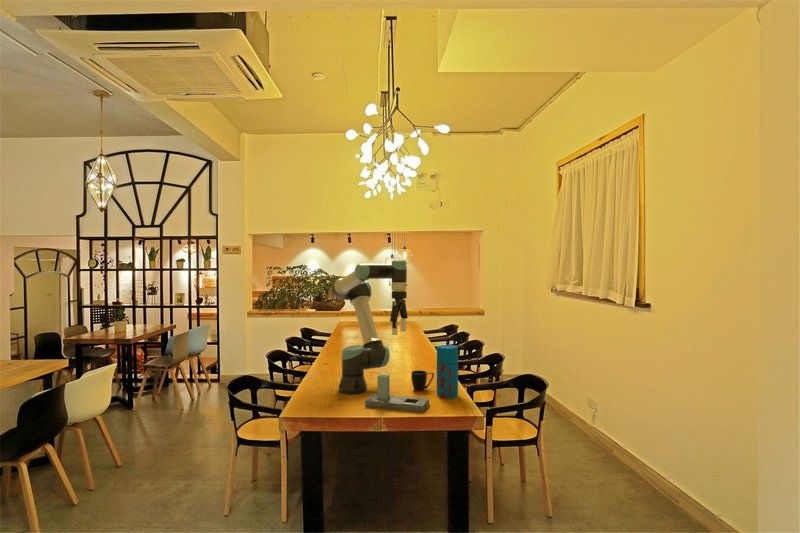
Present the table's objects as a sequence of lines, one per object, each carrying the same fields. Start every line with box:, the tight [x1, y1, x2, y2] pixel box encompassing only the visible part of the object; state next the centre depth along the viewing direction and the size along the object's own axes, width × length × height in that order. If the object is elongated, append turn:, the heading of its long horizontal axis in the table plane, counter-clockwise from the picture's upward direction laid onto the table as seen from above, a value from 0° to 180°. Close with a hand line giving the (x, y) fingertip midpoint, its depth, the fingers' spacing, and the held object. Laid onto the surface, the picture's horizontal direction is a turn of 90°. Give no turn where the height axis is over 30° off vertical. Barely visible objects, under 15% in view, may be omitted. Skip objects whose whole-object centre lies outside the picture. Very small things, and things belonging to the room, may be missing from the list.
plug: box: [376, 372, 391, 400], centre depth 216 cm, size 4×4×15 cm
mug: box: [411, 370, 435, 392], centre depth 242 cm, size 8×12×10 cm
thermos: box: [436, 344, 459, 400], centre depth 231 cm, size 11×11×25 cm
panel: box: [364, 393, 430, 414], centre depth 214 cm, size 28×12×3 cm, turn 72°
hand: (399, 333), depth 226 cm, fingers open, 13 cm apart
